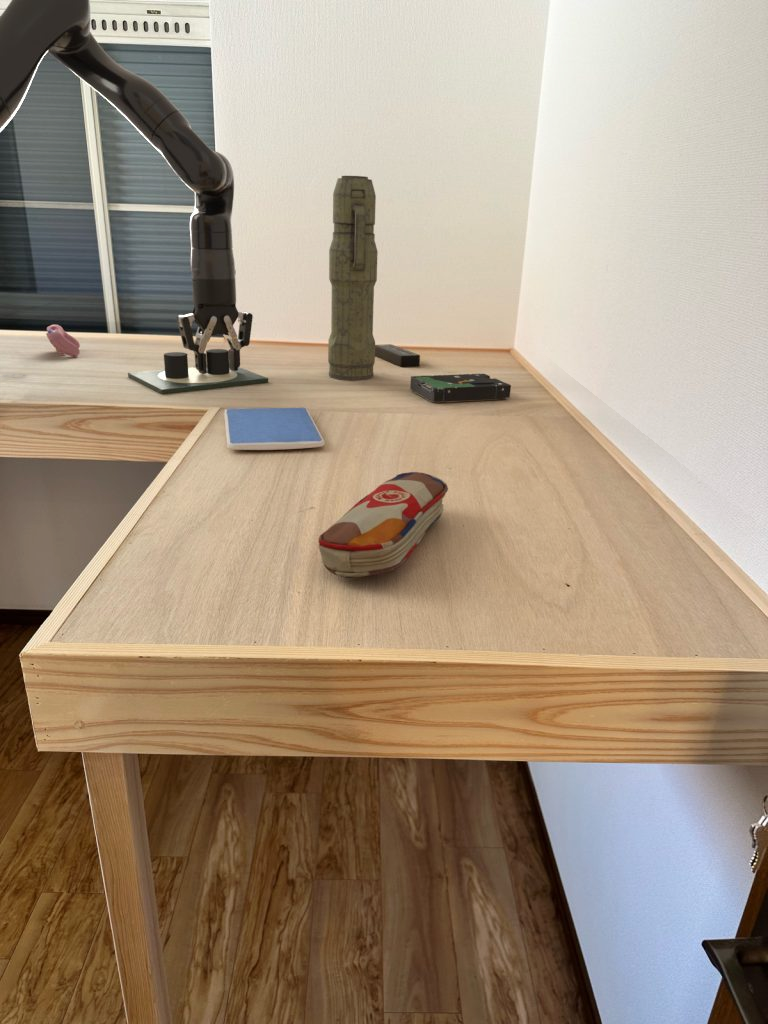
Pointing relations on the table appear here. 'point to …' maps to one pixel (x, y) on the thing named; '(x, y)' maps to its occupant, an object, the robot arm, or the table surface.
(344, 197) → the thermos
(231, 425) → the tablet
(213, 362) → the black cylinder puck
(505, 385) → the disk drive
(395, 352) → the multiport hub
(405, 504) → the pencil case
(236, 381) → the board
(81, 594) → the table surface
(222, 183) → the robot arm
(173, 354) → the dark round peg
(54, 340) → the pink bird figurine
